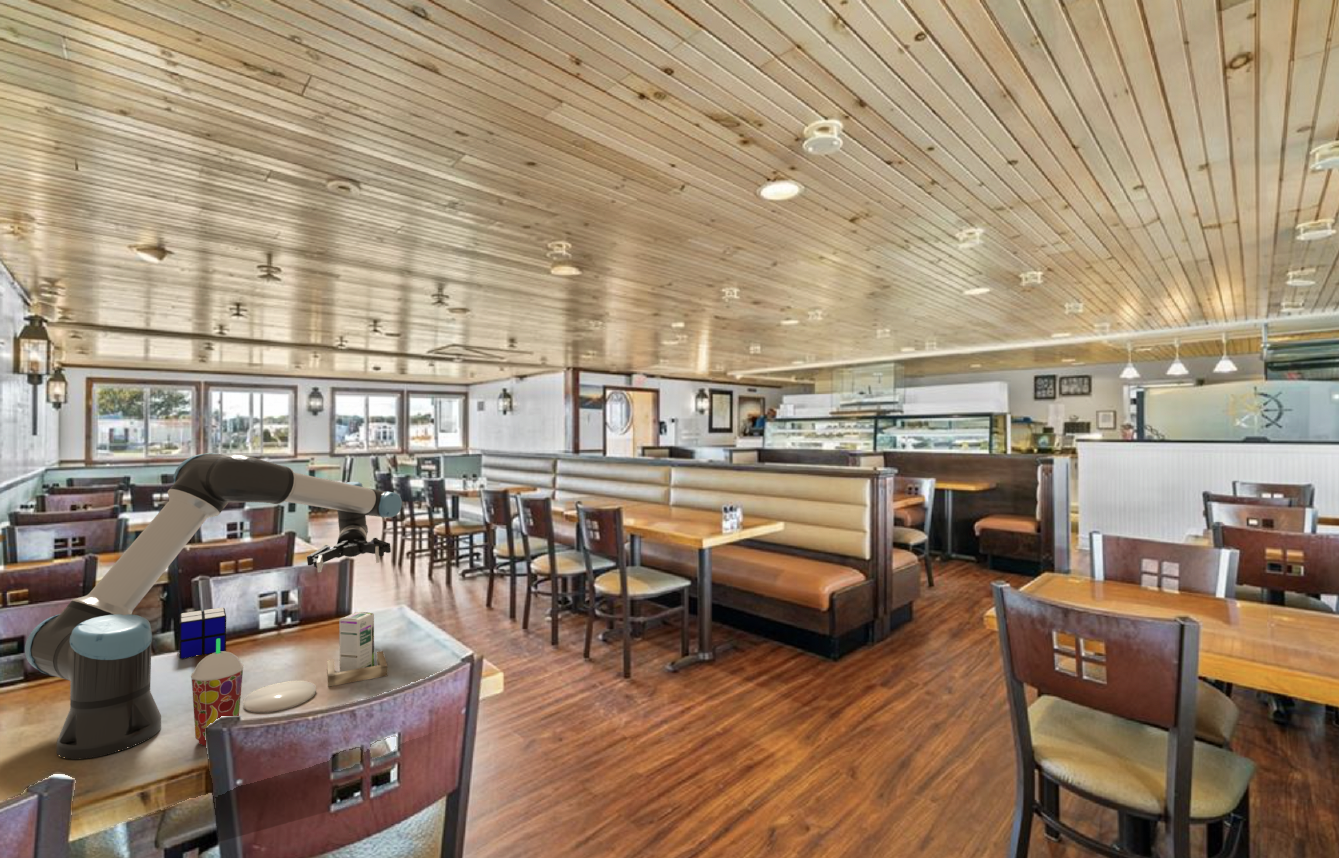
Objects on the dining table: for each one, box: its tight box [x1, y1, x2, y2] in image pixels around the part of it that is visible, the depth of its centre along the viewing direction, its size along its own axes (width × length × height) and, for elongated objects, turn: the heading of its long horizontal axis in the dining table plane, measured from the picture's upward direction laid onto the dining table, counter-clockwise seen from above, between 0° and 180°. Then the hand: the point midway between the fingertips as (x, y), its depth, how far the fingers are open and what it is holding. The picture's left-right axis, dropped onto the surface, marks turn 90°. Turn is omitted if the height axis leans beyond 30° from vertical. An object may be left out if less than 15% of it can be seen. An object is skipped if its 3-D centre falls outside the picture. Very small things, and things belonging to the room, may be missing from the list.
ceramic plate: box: [242, 680, 317, 713], centre depth 137 cm, size 14×14×1 cm
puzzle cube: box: [178, 607, 227, 660], centre depth 165 cm, size 10×10×10 cm
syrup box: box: [338, 611, 375, 672], centre depth 152 cm, size 6×6×14 cm
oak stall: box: [326, 650, 389, 688], centre depth 151 cm, size 13×12×2 cm
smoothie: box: [190, 638, 244, 747], centre depth 119 cm, size 8×8×20 cm
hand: (348, 562), depth 156 cm, fingers open, 13 cm apart
